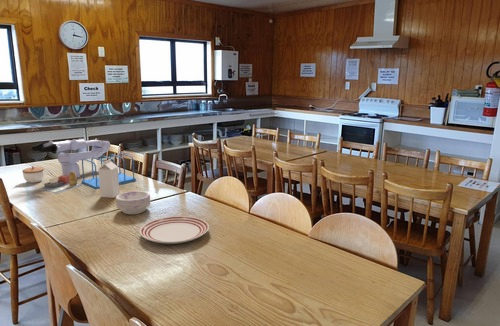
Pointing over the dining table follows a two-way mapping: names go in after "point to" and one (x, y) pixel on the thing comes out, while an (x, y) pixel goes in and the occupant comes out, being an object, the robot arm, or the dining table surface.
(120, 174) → the file sorter
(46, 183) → the dome housing
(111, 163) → the milk carton
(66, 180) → the die
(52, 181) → the dome
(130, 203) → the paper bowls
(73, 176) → the tan rounded peg
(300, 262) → the dining table surface
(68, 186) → the board
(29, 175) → the lidded jar
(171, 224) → the dinner plate
